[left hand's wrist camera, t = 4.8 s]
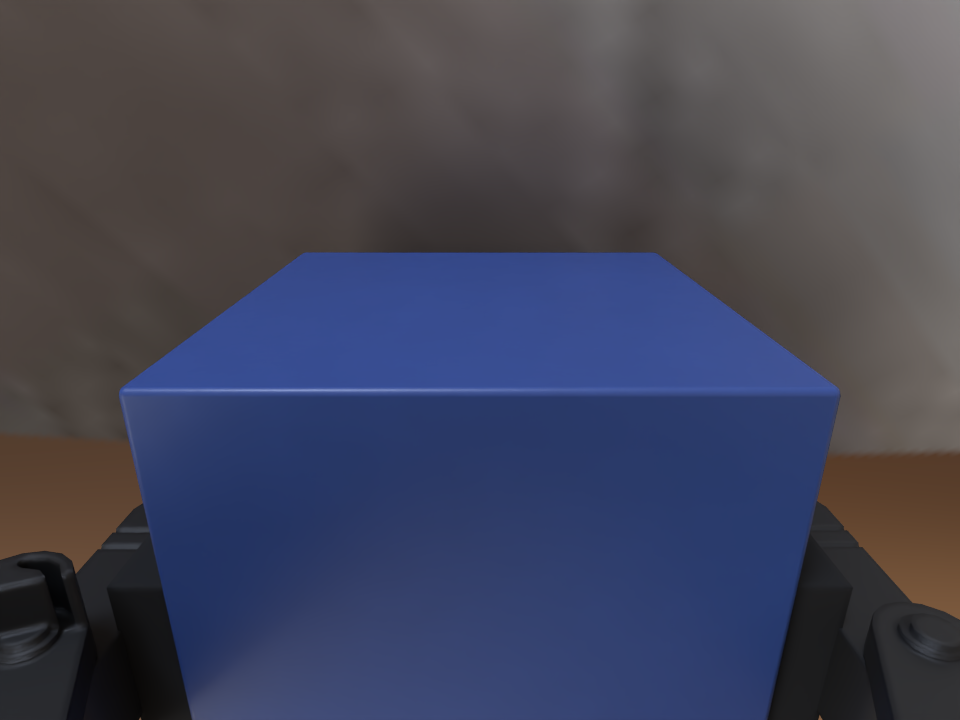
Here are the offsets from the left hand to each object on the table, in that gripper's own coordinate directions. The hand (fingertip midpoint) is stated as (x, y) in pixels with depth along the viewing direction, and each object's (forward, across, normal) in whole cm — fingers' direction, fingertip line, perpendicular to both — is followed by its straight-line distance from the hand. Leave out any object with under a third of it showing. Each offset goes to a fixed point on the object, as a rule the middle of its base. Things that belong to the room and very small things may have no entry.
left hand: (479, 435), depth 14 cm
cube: (+1, 0, 0) cm, 1 cm away
